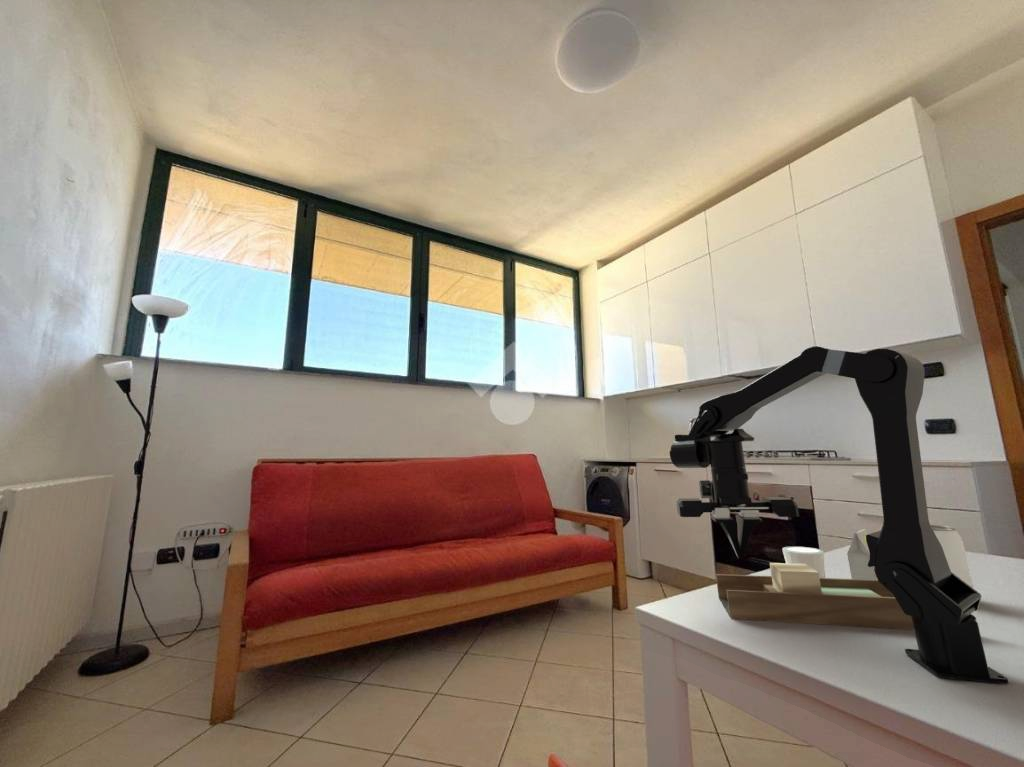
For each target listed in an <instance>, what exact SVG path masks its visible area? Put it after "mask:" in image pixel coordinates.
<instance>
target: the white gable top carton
mask: <svg viewBox="0 0 1024 767" xmlns="http://www.w3.org/2000/svg"><path fill="white" fill-rule="evenodd" d="M868 534H870V533H869V531H868V528H863V529H860V530H859V531H856V532H854V533H853V537H852V541H851V544H850V546H849V548H848V551H847V554H846V555H847V561H848V566H849V570H850V576H851V579H865V580H878V579H877V578H876V575H875V571H874V566H872V567H868V562H869V560H870V552H869V548H868V545H867V542H866V535H868Z"/></svg>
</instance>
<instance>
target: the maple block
mask: <svg viewBox="0 0 1024 767" xmlns="http://www.w3.org/2000/svg"><path fill="white" fill-rule="evenodd" d="M769 569H770V576H772V583H773V587H774V588H775V589H776V590H777V591H778V592H789V593H812V594H822V591H821V585H820V579H819V573H818V572H817V571H816V570H814V569H812V568H811V567H809V566H808V565H806V564H793V563H786V562H785V563H784V562H783V563H782V562H769Z"/></svg>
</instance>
